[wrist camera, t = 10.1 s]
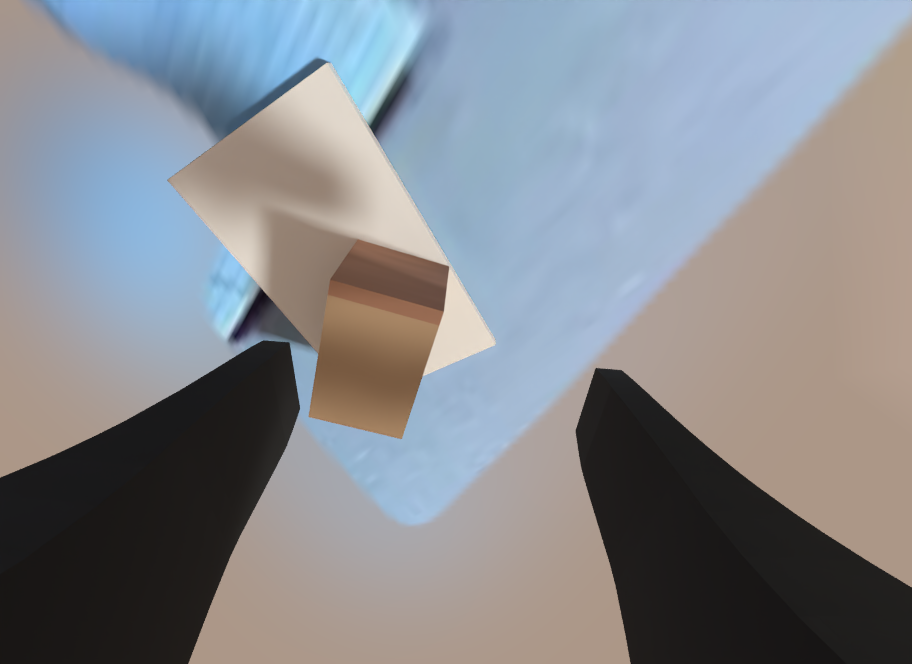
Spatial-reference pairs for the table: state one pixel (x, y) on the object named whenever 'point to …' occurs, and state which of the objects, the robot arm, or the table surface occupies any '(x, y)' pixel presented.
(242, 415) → the robot arm
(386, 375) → the walnut block
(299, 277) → the beige board
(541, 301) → the table surface
